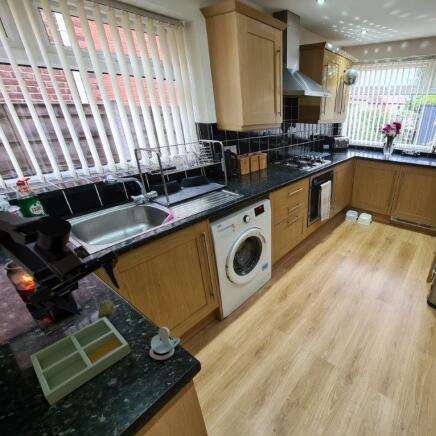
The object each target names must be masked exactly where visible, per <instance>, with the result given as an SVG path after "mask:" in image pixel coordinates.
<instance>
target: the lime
mask: <svg viewBox="0 0 436 436" xmlns="http://www.w3.org/2000/svg"><path fill="white" fill-rule="evenodd" d="M114 309H115V304H114V303H113V301H112V300H111V299H104V300H102V301H101V303H100V306H99V308H98V313H97V317H98V319H101V318H103V317H106V318H107V317H108V316H110V315H111V314H113V312H114Z"/></svg>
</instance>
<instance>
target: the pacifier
mask: <svg viewBox="0 0 436 436" xmlns="http://www.w3.org/2000/svg"><path fill="white" fill-rule="evenodd" d="M157 333H158V334H156V335H154V336H153V337H152V338H151V341H150V347H151V348H150V350H149V352H148V354H149V356H150V357H151V358H152V359H154V360H156V361H163V360H167V359H169V358H171V357H172V356H173V355H174V353H175V348H176V347H177V346H178V345H179V343H180V341H181V338H180V337H174V338H170V329H169V328H168V327H166V326H162V327H160V328H159V329H158V330H157ZM172 339H173V340H172ZM154 352H155V353H154ZM156 353H157V354H156ZM158 354H164V355H158Z"/></svg>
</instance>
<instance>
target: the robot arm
mask: <svg viewBox="0 0 436 436" xmlns="http://www.w3.org/2000/svg"><path fill="white" fill-rule="evenodd" d="M72 228H73V227H72V223H71V222H70V221H69V220H66V219H64V218H61V217H52V216H51V214H46V215H43V216H42V215H41V216H39V215H38V216H32V217H31V216H30V217H25V216H21V215H18V214H15V213H13V212H11V211H9V210H7V209H6V210H5V209H2V210H0V252H2V253H4V254H5V255H6V256H7V257H8V258H9V259H10V260H11V261H13V262H14V263H15V264H16V265H17V266H19V267H20V268H21V269H22V270H23V271H24V272H25V273H26V274H28V275H29V276H30V277H31V278H32V281H33V287H34V290H33V292H31V293H29V294H28V295H27V298H26V299H27V300H28V302H29V303H30V304H31V305H32V306H33V307H35V308H36V309H37V310H38V311H40V310H43V309H44V308H46V309H49V310H50V311H49V315H50V316H51V318H52V320H53V321H54V323H57V322H59V321H61V320H63V319H65V318H67V317H70V316H71V315H73V314H75V315H77V316H79V317H80V316H82V315H83V314H82V313H81V310H83V308H82V306H81V304H80V303H79V302H78V301H77V300H76V298H75V296H74V294H73V292H74V291H76V290H79V289H80V286H79V285H80V284H79V281H81V280H82V279H84V278H86V277H87V276H89V275H91V274H93V273H94V272H96V271H97V270H100V269H102V270H103V272H104V274H105V275H106V277H107V278H108V280H109V281H110V282H111V284H112V285H113V286H114V288H116V289H117V290H120V286H119V282H118V281H117V277H116V276H115V273H114V272H115V271H114V269H115V268H116V267H117V264H118V263H119V255H118V254H117V252H116V251H114V250H113V249H107V250H106V251H103V252H102V253H101V254H98V255H97V256H96V257H95V258H96V261H95V262H94V263H92V264H90V265H88V263H87V262H86V261H85V259H87V258H89V257H90V256H91V253H90V252H89V251H88V250H87V248H85V247H84V245H82V244H81V245H79V246H77V247H75V248H74V249H73V250H72V249H71V248H70V247H69V246H68V244H69V242H70V238H71V233H72V230H73V229H72ZM34 243H35V244H34ZM32 244H34V245H33V249H32V248H31V247H29V245H32ZM87 265H88V266H87Z"/></svg>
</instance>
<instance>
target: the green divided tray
mask: <svg viewBox="0 0 436 436" xmlns="http://www.w3.org/2000/svg"><path fill="white" fill-rule="evenodd" d="M130 353H132V350H131V347H130V345H129V343H128V342H127V340H125V338H124V337H123V335H121V334H120V332H119V331H118V330H117V329H116V328H115V326H114V325H113V324H112V323H111V321H109V319H108V318H107V317H103V318H98V319H97V320H96V321H94V322H92V323H90V324H88V325H86V326H84V327H82V328H80V329H78V330H76V331H74V332H73V333H70V334H69V335H67V336H65V337H63V338H61V339H60V340H57V341H55V342H54V343H52V344H50V345H48V346H46V347H44V348H42V349H40V350H38V351H36V352H35V353H33V354H31V355H29V359H30V361H31V364H32V366H33V369H34V372H35V374H36V377H37V380H38V382H39V385H40V388H41V389H42V393H43V396H44V397H45V399H46V401H47V402H48V404H49V406H53V405H54V404H56V403H57V402H58V401H60V400H62V399H63V398H64V397H66V396H67V395H69V394H70V393H72V392H74V391H75V390H76V389H78V388H80V387H81V386H83V385H84V384H86V383H87V382H89V381H90V380H91V379H93V378H94V377H96V376H98V375H99V374H101V373H102V372H104V371H105V370H106V369H108V368H110V367H112V366H113V365H114V364H116V363H117V362H119V361H121V360H122V359H123V358H124V357H126V356H128V355H129V354H130Z"/></svg>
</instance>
